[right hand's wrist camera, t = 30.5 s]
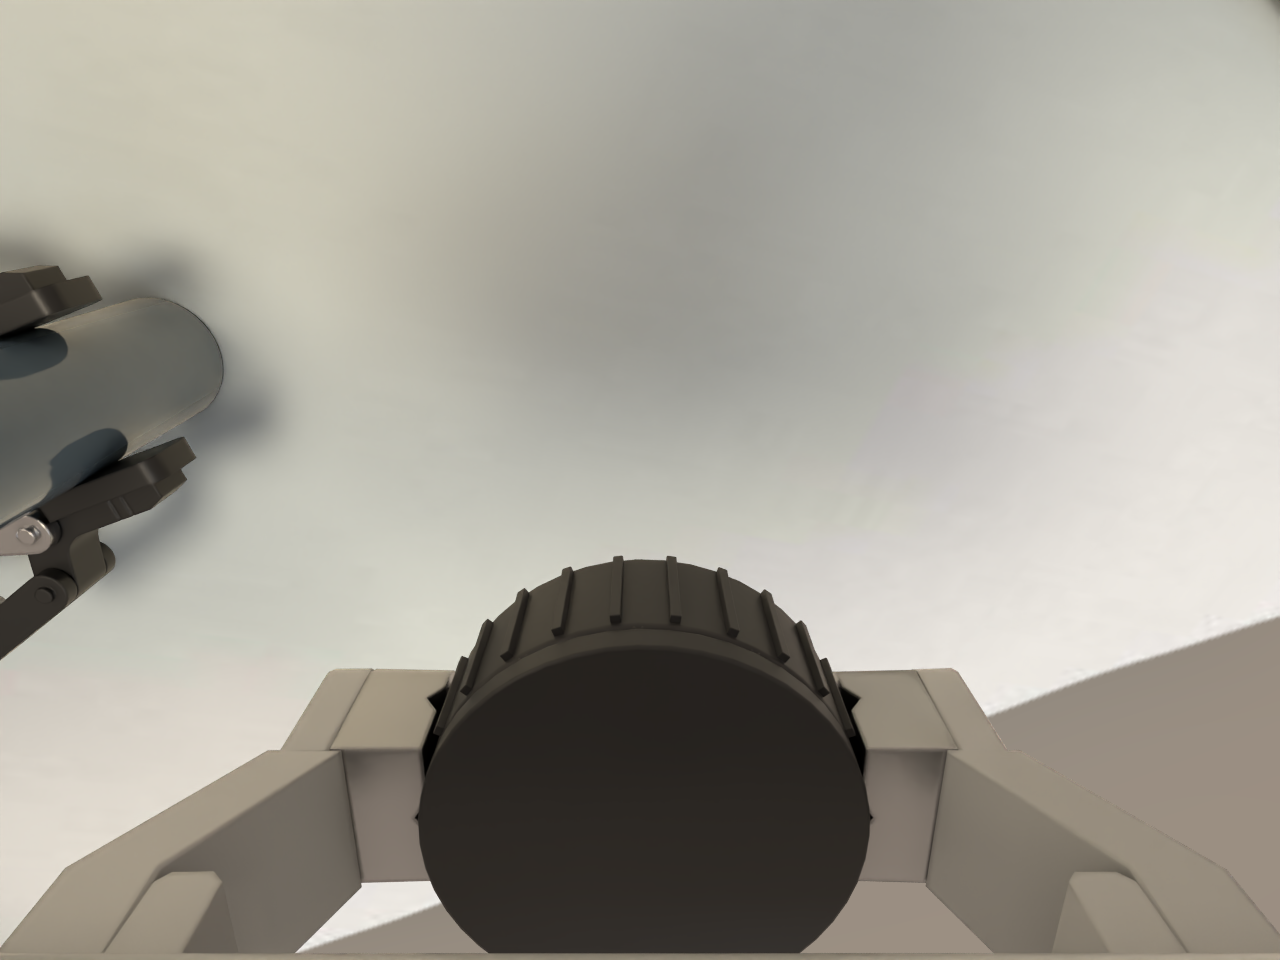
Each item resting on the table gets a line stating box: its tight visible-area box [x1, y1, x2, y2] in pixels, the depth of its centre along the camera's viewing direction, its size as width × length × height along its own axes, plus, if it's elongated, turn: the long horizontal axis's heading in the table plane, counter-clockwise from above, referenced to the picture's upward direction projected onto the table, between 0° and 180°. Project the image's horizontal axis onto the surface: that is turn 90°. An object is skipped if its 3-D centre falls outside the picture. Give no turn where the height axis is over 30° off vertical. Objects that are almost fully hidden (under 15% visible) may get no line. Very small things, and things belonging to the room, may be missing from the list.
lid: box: [418, 556, 870, 953], centre depth 10 cm, size 5×5×2 cm
